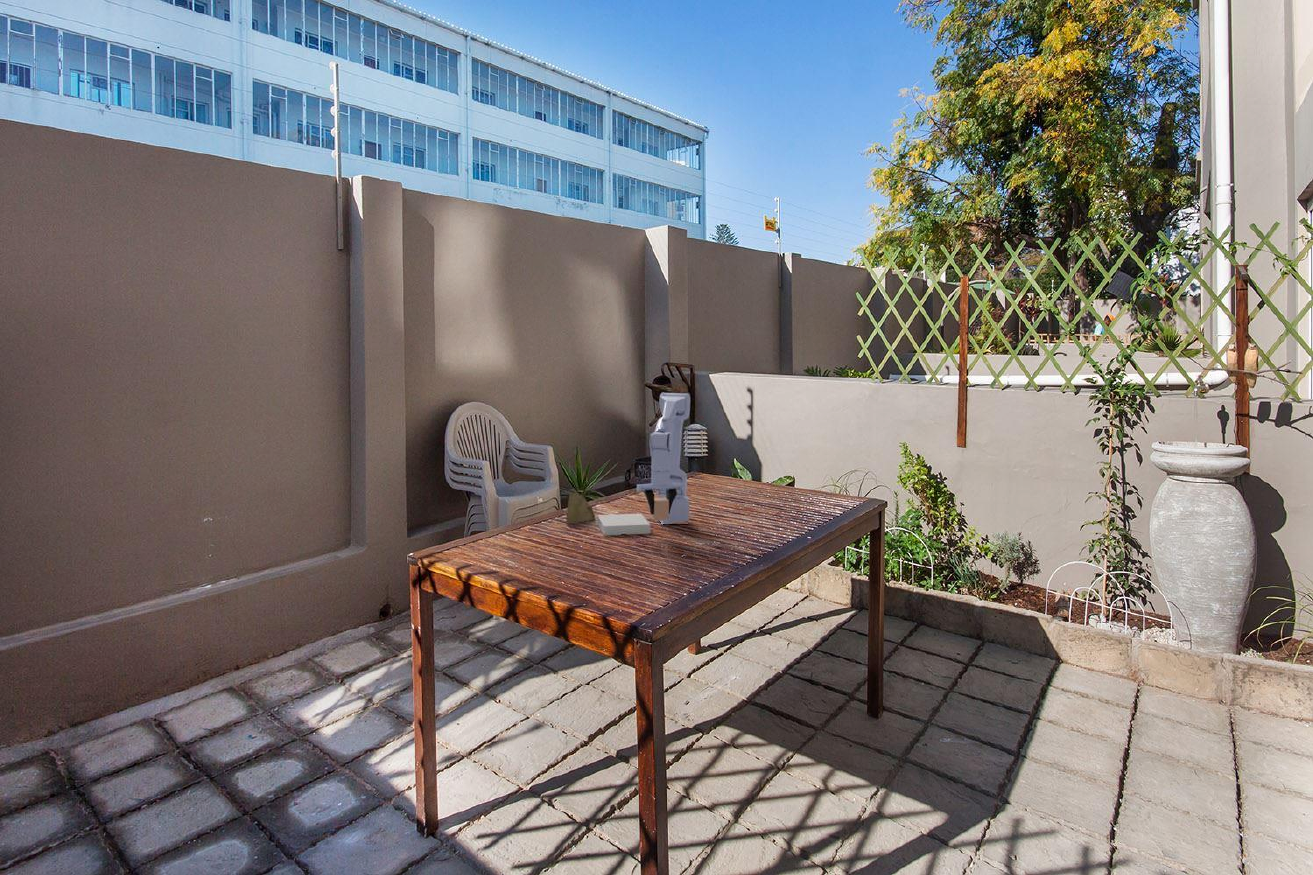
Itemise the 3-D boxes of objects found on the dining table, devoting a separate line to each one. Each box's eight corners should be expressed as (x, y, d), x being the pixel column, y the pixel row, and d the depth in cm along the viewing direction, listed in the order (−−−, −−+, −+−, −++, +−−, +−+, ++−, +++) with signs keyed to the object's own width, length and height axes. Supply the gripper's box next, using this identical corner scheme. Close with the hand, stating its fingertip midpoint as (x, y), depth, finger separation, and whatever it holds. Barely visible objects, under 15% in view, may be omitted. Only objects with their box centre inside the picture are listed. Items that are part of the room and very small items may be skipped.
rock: (596, 510, 256) (568, 506, 255) (599, 494, 250) (570, 490, 249) (593, 534, 248) (564, 530, 247) (595, 518, 242) (565, 514, 241)
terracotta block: (665, 516, 231) (665, 497, 231) (668, 519, 227) (668, 500, 226) (651, 516, 230) (651, 498, 230) (654, 520, 226) (654, 501, 225)
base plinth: (641, 522, 248) (641, 513, 248) (650, 533, 234) (650, 524, 234) (597, 523, 245) (597, 515, 245) (603, 535, 231) (603, 526, 230)
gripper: (640, 473, 221) (639, 517, 223) (686, 472, 224) (685, 515, 226) (635, 469, 228) (635, 511, 230) (680, 468, 231) (680, 510, 233)
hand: (660, 513), depth 229 cm, fingers closed on terracotta block, 4 cm apart
